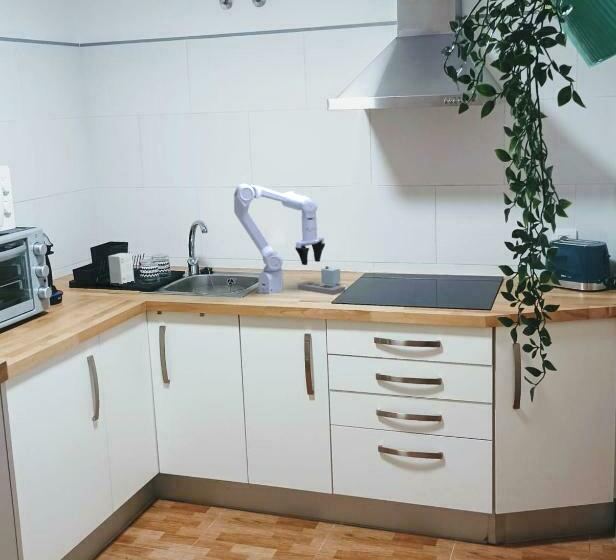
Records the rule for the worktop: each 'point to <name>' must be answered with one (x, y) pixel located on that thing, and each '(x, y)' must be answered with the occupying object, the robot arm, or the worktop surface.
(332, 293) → the grey control panel
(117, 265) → the small box
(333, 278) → the block
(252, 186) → the robot arm
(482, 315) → the worktop surface
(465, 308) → the worktop surface
